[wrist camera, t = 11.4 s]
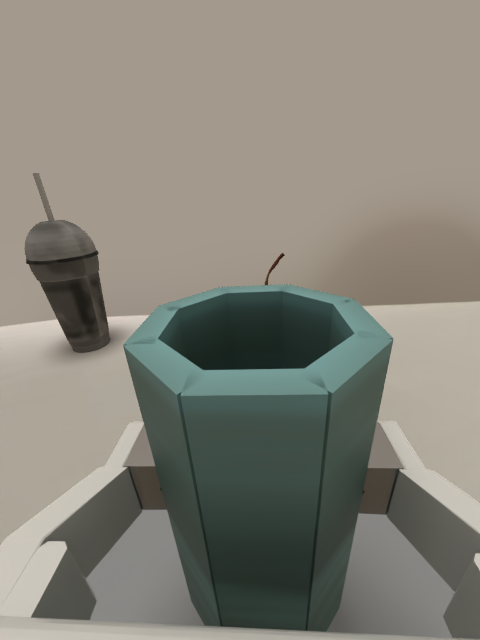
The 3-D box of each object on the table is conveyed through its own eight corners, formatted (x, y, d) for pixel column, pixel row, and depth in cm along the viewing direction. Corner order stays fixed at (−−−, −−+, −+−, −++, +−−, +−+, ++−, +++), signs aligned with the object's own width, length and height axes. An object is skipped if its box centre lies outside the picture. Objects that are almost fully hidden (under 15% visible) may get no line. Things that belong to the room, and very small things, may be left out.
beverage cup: (118, 327, 40) (78, 176, 32) (123, 347, 34) (75, 169, 26) (62, 339, 38) (3, 178, 29) (57, 364, 32) (-19, 170, 23)
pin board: (-11, 840, 8) (-184, 791, 5) (161, 422, 22) (143, 346, 19) (585, 901, 7) (824, 887, 4) (359, 421, 21) (372, 341, 18)
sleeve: (179, 668, 8) (76, 396, 4) (207, 496, 12) (173, 288, 8) (354, 678, 8) (448, 393, 3) (317, 498, 12) (338, 282, 8)
